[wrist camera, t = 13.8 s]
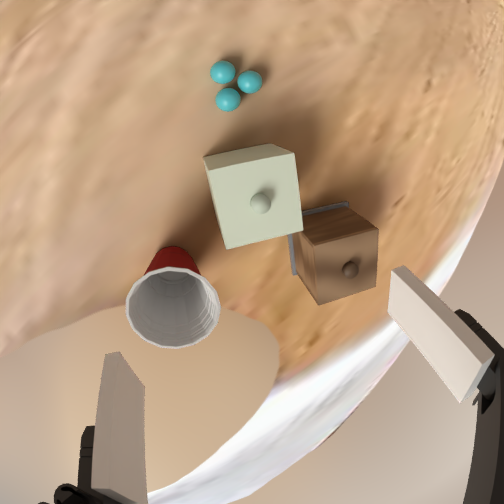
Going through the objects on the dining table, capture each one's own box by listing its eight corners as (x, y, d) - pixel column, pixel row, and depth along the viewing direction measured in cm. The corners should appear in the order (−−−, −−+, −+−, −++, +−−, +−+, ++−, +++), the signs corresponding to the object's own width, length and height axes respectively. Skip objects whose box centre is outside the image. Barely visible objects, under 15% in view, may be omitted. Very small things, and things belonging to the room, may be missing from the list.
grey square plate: (284, 215, 43) (286, 216, 43) (346, 201, 44) (348, 202, 44) (292, 273, 48) (293, 275, 48) (348, 257, 49) (349, 259, 49)
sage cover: (202, 157, 37) (209, 172, 29) (270, 143, 38) (297, 154, 30) (217, 221, 42) (227, 253, 33) (280, 206, 43) (306, 233, 34)
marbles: (207, 64, 32) (209, 61, 29) (254, 57, 33) (260, 53, 30) (232, 195, 40) (236, 202, 38) (275, 186, 41) (282, 191, 38)
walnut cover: (289, 218, 43) (317, 249, 34) (345, 206, 44) (382, 231, 35) (296, 272, 47) (321, 310, 39) (347, 257, 48) (379, 290, 40)
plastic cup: (222, 241, 43) (236, 287, 33) (196, 301, 47) (202, 356, 36) (148, 217, 39) (137, 258, 29) (128, 282, 43) (117, 336, 32)
